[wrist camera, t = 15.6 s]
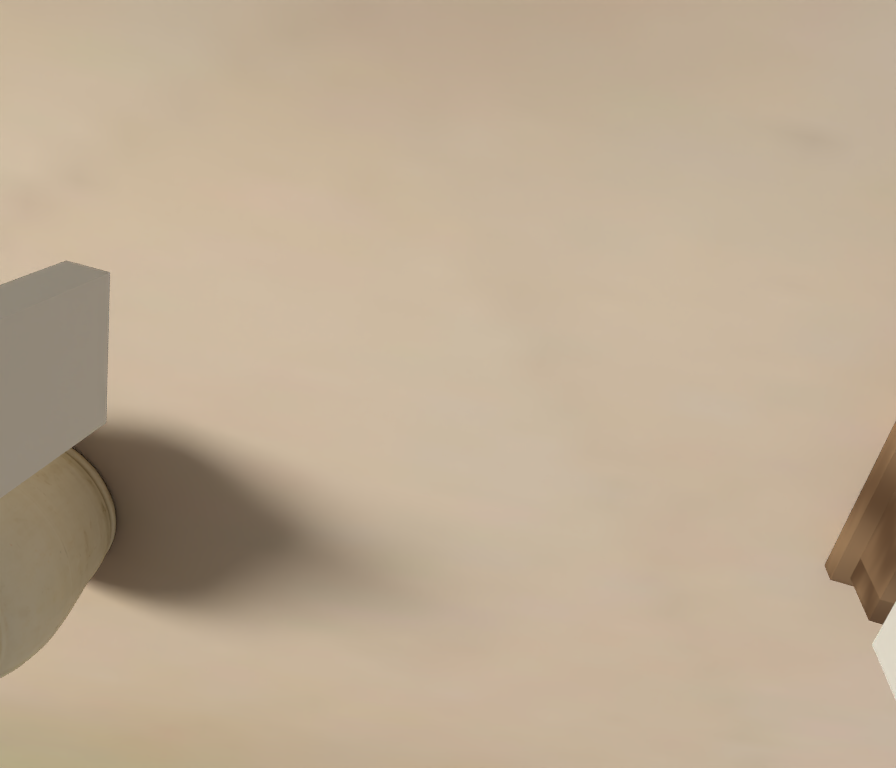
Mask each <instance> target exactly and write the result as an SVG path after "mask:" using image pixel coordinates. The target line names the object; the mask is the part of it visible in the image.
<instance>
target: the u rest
mask: <svg viewBox="0 0 896 768" xmlns="http://www.w3.org/2000/svg"><path fill="white" fill-rule="evenodd" d="M825 568H826V570H827V573H828V575H829V578H830V580H833V581H837V582H840V583H844V584H847V585H851V586H854V588H855V590H856V592H857V594H858V597H859V599H860V601H861V604H862V606H863V608H864V610H865V613H866V615H867V617H868V619H869V621H873V622H876V623H880V624H884V622H885V620H886V618H887V617H888V615H889V613H890V611H891V609H892V608H893V606H894V604H895V602H896V422H895V424H894V426H893V428H892V430H891V432H890V434H889V436H888V438H887V440H886V442H885V444H884V446H883V448H882V450H881V452H880V454H879V456H878V458H877V461H876V463H875V465H874V467H873V469H872V471H871V473H870V475H869V477H868V479H867V481H866V483H865V485H864V487H863V489H862V491H861V493H860V495H859V497H858V499H857V501H856V503H855V505H854V507H853V509H852V511H851V513H850V515H849V517H848V519H847V521H846V523H845V525H844V527H843V529H842V531H841V533H840V535H839V537H838V539H837V541H836V543H835V546H834V548H833V550H832V552H831V554H830V556H829V558H828V560H827V562H826V564H825Z"/></svg>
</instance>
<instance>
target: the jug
mask: <svg viewBox="0 0 896 768" xmlns="http://www.w3.org/2000/svg"><path fill="white" fill-rule="evenodd" d="M115 531H116V515H115V508H114V503H113V500H112V497H111V495H110V493H109V491H108V489H107V487H106V485H105V483H104V481H103V479H102V478H101V476H100V475H99V473H98V472H97V471H96V469H95V468H94V467H93V466H92V465H91V464H90V463H89V462H88V461H87V460H86V459H85V458H84V457H83V456H82V455H81V454H79V453H78V452H77V451H76V450H74V449H73V448H70V449H69V450H67V451H66V452H64V453H63V454H62V455H60V456H59V457H57V458H56V459H55V460H53V461H52V462H50V463H49V464H48V465H46V466H45V467H43V468H42V469H41V470H39V471H38V472H36V473H35V474H34V475H32V476H31V477H29V478H28V479H27V480H25V481H24V482H22V483H21V484H20V485H18V486H17V487H15V488H14V489H13V490H11V491H10V492H8V493H7V494H6V495H4V496H3V497H1V498H0V678H2V677H3V676H5V675H7V674H9V673H10V672H12V671H14V670H15V669H17V668H18V667H20V666H21V665H22V664H24V663H25V662H26V661H28V660H29V659H30V658H31V657H33V656H34V655H35V654H36V653H37V652H38V651H39V650H40V649H41V648H42V647H43V646H44V645H45V644H46V643H47V642H48V641H49V640H50V639H51V638H52V636H53V635H54V634H55V632H56V631H57V630H58V628H59V627H60V626H61V625H62V623H63V622H64V620H65V619H66V617H67V616H68V614H69V613H70V611H71V609H72V608H73V606H74V604H75V603H76V601H77V600H78V598H79V596H80V595H81V593H82V591H83V589H84V588H85V586H86V585H87V583H88V582H89V581H90V579H91V578H92V577H93V575H94V574H95V573H96V571H97V570H98V568H99V566H100V565H101V563H102V561H103V559H104V557H105V555H106V553H107V552H108V550H109V549H110V547H111V544H112V542H113V540H114V536H115Z"/></svg>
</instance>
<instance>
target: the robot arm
mask: <svg viewBox="0 0 896 768" xmlns="http://www.w3.org/2000/svg"><path fill="white" fill-rule="evenodd" d="M109 293H110V272H107V271H103V270H99V269H96V268H92V267H88V266H84V265H81V264H77V263H73V262H70V261H64V262H61V263H58V264H56V265H53V266H50V267H48V268H45V269H42V270H40V271H37V272H34V273H31V274H29V275H26V276H23V277H21V278H18V279H15V280H13V281H10V282H7V283H4V284H2V285H0V498H1V497H3V496H4V495H6V494H7V493H8V492H10V491H11V490H13V489H14V488H15V487H17V486H18V485H20V484H21V483H22V482H24V481H25V480H27V479H28V478H29V477H31V476H32V475H34V474H35V473H36V472H38V471H39V470H41V469H42V468H43V467H45V466H46V465H48V464H49V463H50V462H52V461H53V460H55V459H56V458H57V457H59V456H60V455H62V454H63V453H64V452H66V451H67V450H69V449H70V448H71V447H73V446H74V445H76V444H77V443H78V442H80V441H81V440H83V439H84V438H85V437H87V436H88V435H90V434H91V433H93V432H94V431H95V430H97V429H98V428H100V427H101V426H102V425H104V424H105V423H106V412H107V373H108V333H109ZM872 646H873V648H874V651H875V653H876V655H877V658H878V660H879V662H880V665H881V667H882V669H883V672H884V674H885V676H886V679H887V681H888V683H889V686H890V688H891V690H892V693H893V695H894V698H895V700H896V602H895V604H894V606H893V608H892V609H891V611H890V613H889V615H888V617H887V618H886V620H885V622H884V624H883V626H882V627H881V629H880V631H879V633H878V635H877V636H876V638H875V640H874V642H873V644H872Z"/></svg>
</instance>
